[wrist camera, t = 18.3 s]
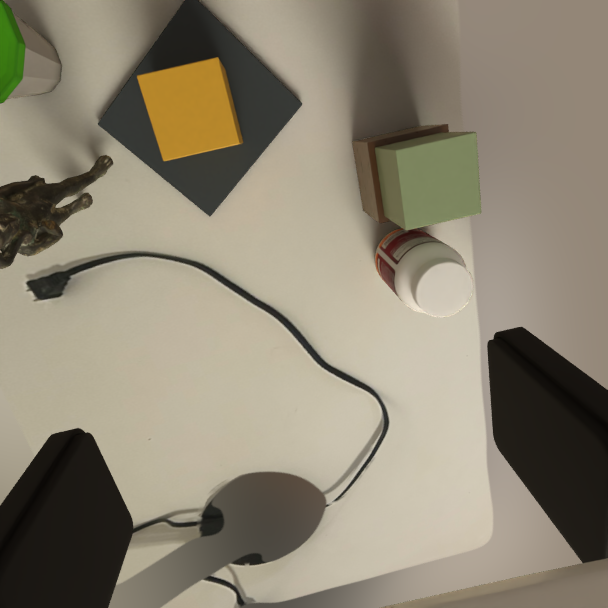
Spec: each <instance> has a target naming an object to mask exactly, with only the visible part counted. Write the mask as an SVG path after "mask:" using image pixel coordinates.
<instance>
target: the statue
mask: <svg viewBox="0 0 608 608" xmlns="http://www.w3.org/2000/svg"><path fill="white" fill-rule="evenodd" d="M112 165H113V161H112V159H111V158H110V157H109V156H107V155H105V156H101V157H100V158H99V159H98V160H97V161H96V163H95V165H94V166H93V167H92V168H91V170H90V171H89V172H87V173H84V174H82V175H79V176H75V177H71V178H67V179H65V180H63V181H61V182H60V183H51V184H46V183H45V180H44V178H40V177H39V176H36V175H35V176H31V177H30V179H29V180H28V181H21V182H13V183H10V184H7V185H4V186H1V187H0V250H1V251H2V253H0V269H3V268H6V267H8V266H10V265H11V264H12V263H13V261H14V258H15V256H16V254H17V252H18V253H20V254H22V255H25V256H32V255H36V254H38V253H40V252H41V251H43V250H45V249H47V248H49V247H50V246H52V245H53V244H55V243H56V242H58V241H59V240H60V239H61V238H62V236H63V233H62V230H61V228H60V227H59V226H60V224H61V223H63V222H64V221H65V220H66V219H67V218H69V217H70V215H72V214H75V213H77V212H78V211H80V210H83V209H86V208H88V207H90V205H91V204H92V202H93V200H92V197H91V195H90V194H89V193H84V194H83V195H82V196H80V197H79V198H78V199H76V200H75V201H73V202H72V203H70V204H68V205H66V206H63V207H61V208H55V207H56V205H57V204H58V203H59V202H60V201H62V200H63V199H64V198H65V197H69V196H73V195H75V194H77V193H78V192H79V191H81V190H82V189H84V188H85V187H87V186H88V185H90V184H91V183H93V182H94V181H96V180H97V179H98V178H99V177H102V176H103V175H105V173H106V172H107V170H108V169H109V168H110V167H111V166H112Z"/></svg>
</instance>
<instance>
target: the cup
mask: <svg viewBox="0 0 608 608" xmlns="http://www.w3.org/2000/svg"><path fill="white" fill-rule="evenodd" d="M61 68H62V65H61V62H60V60H59V57H58V54H57V52H56V49H55V48H54V47H53V46H52V45H51V44H50V43H49V42H48V41H47V40H45V39H44V38H43V37H42V36H41V35H40V34H39V33H37V32H36V31H35V30H34V29H32V28H31V27H30V26H29V25H27V24H26V23H25V22H24V21H22V20H21V19H20V18H19V17H17V16H16V15H15V14H14V13H13V12H12V10H11V8H10V7H9V6H8V5H7V4H6V3H5V2H4V1H3V0H0V103H3V102H5V100H6V99H9V98H17V97H25V96H33V95H39V94H43V93H47V92H51V91H52V90H53V89H54V88H55V86H56V85H57V84H58V83H59V82H60V77H61Z"/></svg>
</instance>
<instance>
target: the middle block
mask: <svg viewBox="0 0 608 608" xmlns="http://www.w3.org/2000/svg"><path fill="white" fill-rule="evenodd" d="M375 154H376V161H377V168H378V175H379V181H380V188H381V195H382V202H383V209H384V216H385V217H387V218H388V219H390V220H391V221H393V222H394V223H396V224H397V225H399V226H400V227H402V228H403V229H404V230H411V229H415V228H420V227H424V226H428V225H433V224H437V223H441V222H446V221H450V220H454V219H459V218H463V217H468V216H472V215H476V214H480V213H481V199H480V183H479V167H478V152H477V135H476V132H441V133H437V134H433V135H428V136H424V137H420V138H415V139H411V140H406V141H402V142H398V143H393V144H389V145H385V146H380V147H376V148H375Z"/></svg>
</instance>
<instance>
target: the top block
mask: <svg viewBox="0 0 608 608" xmlns="http://www.w3.org/2000/svg"><path fill="white" fill-rule="evenodd" d="M137 79H138V82H139V85H140V89H141V92H142V95H143V98H144V101H145V104H146V108H147V111H148V114H149V117H150V120H151V124H152V127H153V130H154V133H155V136H156V139H157V143H158V146H159V149H160V152H161V155H162V158H163V161H168V160H173V159H177V158H181V157H186V156H190V155H194V154H199V153H203V152H208V151H212V150H216V149H221V148H225V147H229V146H234V145H238V144H241V143H243V139H242V135H241V131H240V127H239V123H238V119H237V115H236V111H235V107H234V103H233V99H232V95H231V91H230V87H229V82H228V78H227V74H226V70H225V68H224V67H223V65H222V63H221V62H220V60H219V58H218V57H216V58H211V59H207V60H203V61H198V62H194V63H189V64H185V65H181V66H176V67H172V68H168V69H163V70H159V71H154V72H150V73H146V74H141V75H137Z"/></svg>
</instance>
